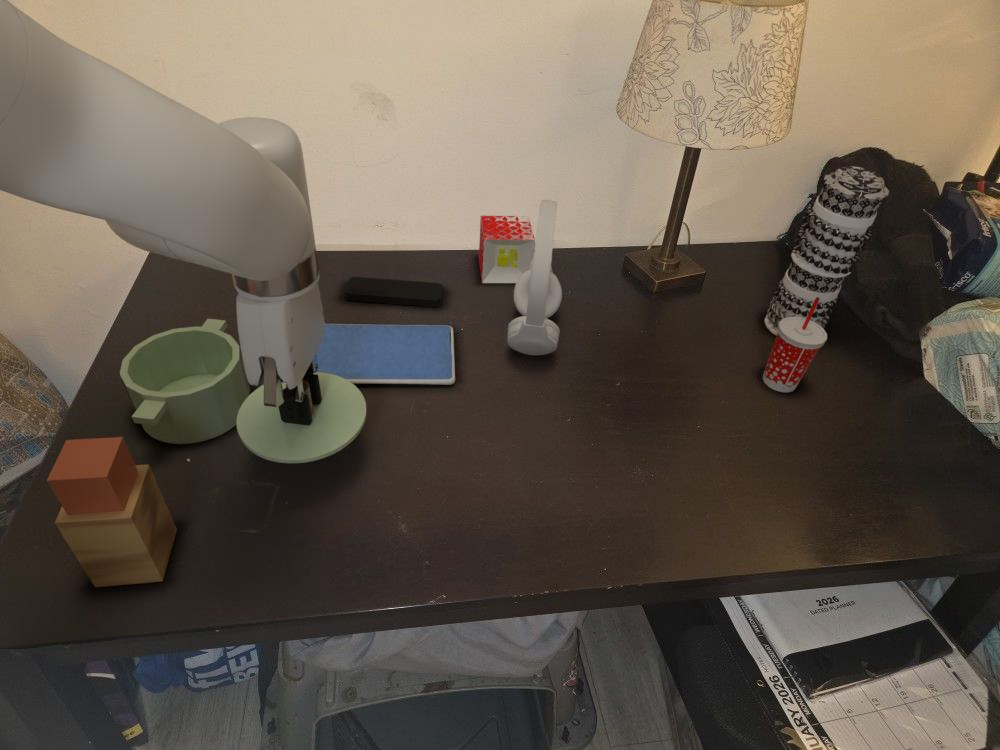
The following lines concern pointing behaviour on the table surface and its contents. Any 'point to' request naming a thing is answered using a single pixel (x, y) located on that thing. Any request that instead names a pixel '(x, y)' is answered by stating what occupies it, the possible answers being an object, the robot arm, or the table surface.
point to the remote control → (394, 291)
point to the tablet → (388, 353)
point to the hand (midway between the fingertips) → (302, 410)
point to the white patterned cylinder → (828, 245)
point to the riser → (124, 537)
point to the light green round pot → (186, 383)
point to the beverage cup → (793, 351)
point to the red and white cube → (505, 248)
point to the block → (93, 475)
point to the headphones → (538, 293)
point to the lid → (304, 443)
